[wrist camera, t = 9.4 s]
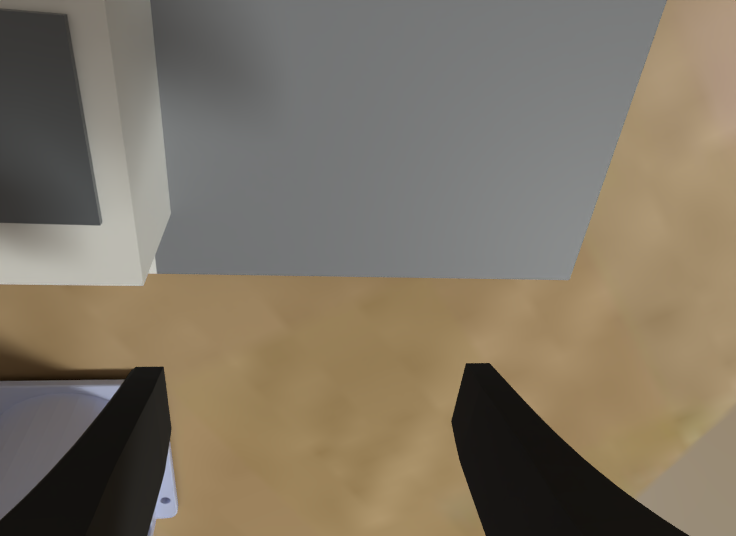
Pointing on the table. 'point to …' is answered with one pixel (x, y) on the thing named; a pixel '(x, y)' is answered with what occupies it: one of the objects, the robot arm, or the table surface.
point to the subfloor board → (390, 133)
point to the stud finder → (80, 143)
